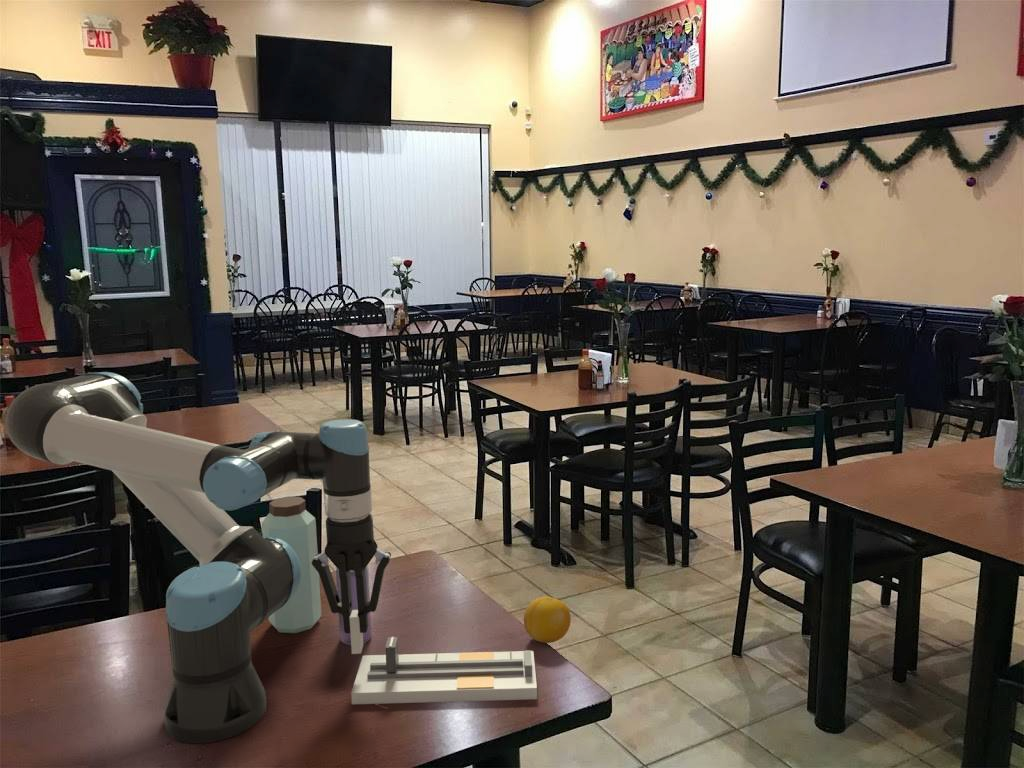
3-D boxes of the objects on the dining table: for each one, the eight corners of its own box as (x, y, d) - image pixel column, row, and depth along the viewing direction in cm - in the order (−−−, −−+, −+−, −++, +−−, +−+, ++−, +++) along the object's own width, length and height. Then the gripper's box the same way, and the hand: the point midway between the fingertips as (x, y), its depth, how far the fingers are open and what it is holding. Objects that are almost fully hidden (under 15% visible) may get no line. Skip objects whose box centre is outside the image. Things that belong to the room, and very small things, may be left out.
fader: (386, 677, 135) (385, 646, 134) (389, 666, 138) (388, 636, 137) (396, 677, 135) (395, 646, 134) (398, 666, 138) (397, 636, 137)
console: (351, 704, 131) (350, 681, 130) (363, 666, 143) (362, 644, 142) (537, 699, 131) (536, 676, 131) (533, 661, 143) (533, 640, 142)
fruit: (539, 624, 157) (538, 586, 155) (577, 634, 153) (576, 594, 151) (516, 644, 149) (516, 604, 148) (555, 654, 145) (555, 613, 144)
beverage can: (365, 648, 149) (360, 571, 146) (334, 645, 150) (330, 569, 148) (376, 632, 155) (373, 558, 152) (347, 630, 156) (343, 556, 153)
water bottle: (332, 619, 161) (325, 498, 156) (294, 640, 152) (285, 513, 148) (297, 608, 166) (289, 490, 161) (258, 627, 158) (248, 504, 153)
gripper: (303, 524, 128) (313, 662, 132) (386, 521, 128) (393, 659, 132) (313, 508, 135) (323, 640, 139) (391, 506, 135) (399, 637, 139)
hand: (357, 649), depth 136 cm, fingers closed
